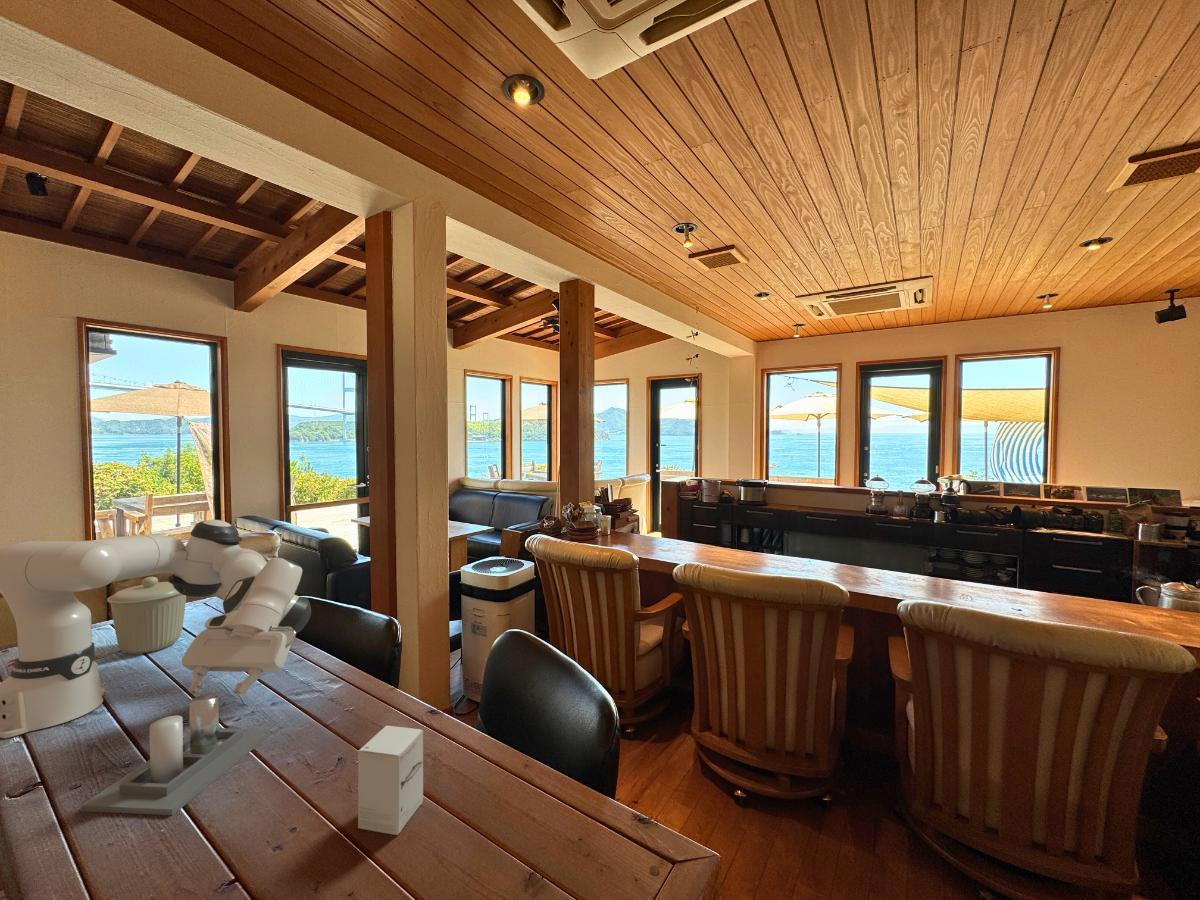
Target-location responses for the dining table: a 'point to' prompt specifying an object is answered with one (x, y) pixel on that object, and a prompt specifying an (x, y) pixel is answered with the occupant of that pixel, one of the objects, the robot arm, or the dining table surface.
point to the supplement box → (390, 779)
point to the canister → (147, 616)
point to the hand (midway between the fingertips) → (216, 693)
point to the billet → (204, 723)
